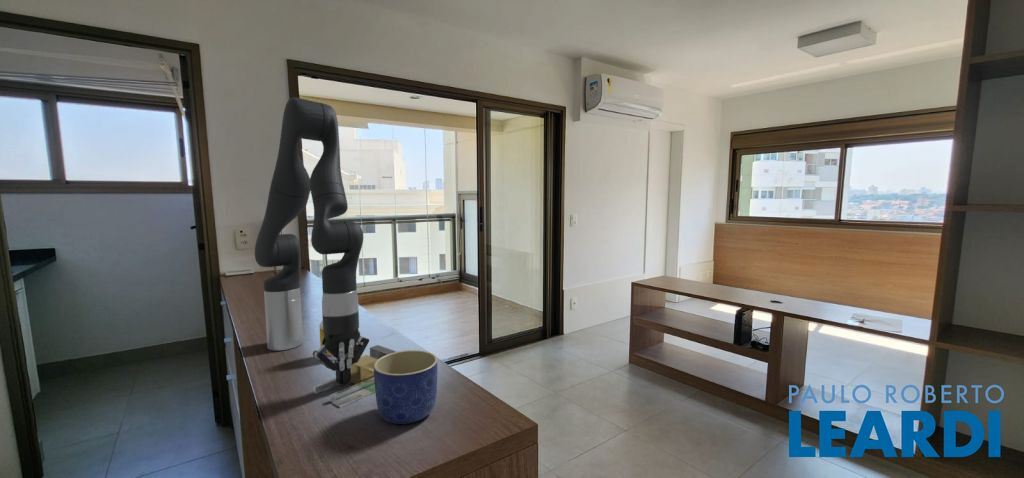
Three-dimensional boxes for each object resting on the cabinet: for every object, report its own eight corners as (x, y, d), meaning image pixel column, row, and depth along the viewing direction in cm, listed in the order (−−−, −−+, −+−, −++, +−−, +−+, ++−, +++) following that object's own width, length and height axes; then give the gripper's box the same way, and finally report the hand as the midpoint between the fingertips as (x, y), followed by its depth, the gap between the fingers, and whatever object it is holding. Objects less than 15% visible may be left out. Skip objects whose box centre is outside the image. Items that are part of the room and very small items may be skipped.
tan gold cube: (349, 380, 95) (348, 361, 95) (367, 373, 99) (366, 355, 99) (370, 391, 90) (369, 370, 90) (388, 382, 94) (388, 363, 94)
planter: (405, 438, 73) (404, 380, 72) (361, 418, 79) (359, 365, 78) (450, 408, 83) (450, 357, 82) (408, 393, 90) (407, 345, 89)
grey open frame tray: (313, 392, 90) (312, 367, 89) (378, 367, 103) (378, 345, 103) (340, 407, 83) (338, 379, 83) (405, 378, 97) (405, 354, 96)
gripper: (357, 301, 97) (360, 370, 99) (302, 314, 87) (306, 390, 88) (376, 306, 93) (378, 378, 94) (320, 320, 82) (324, 400, 84)
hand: (343, 384), depth 91 cm, fingers closed
